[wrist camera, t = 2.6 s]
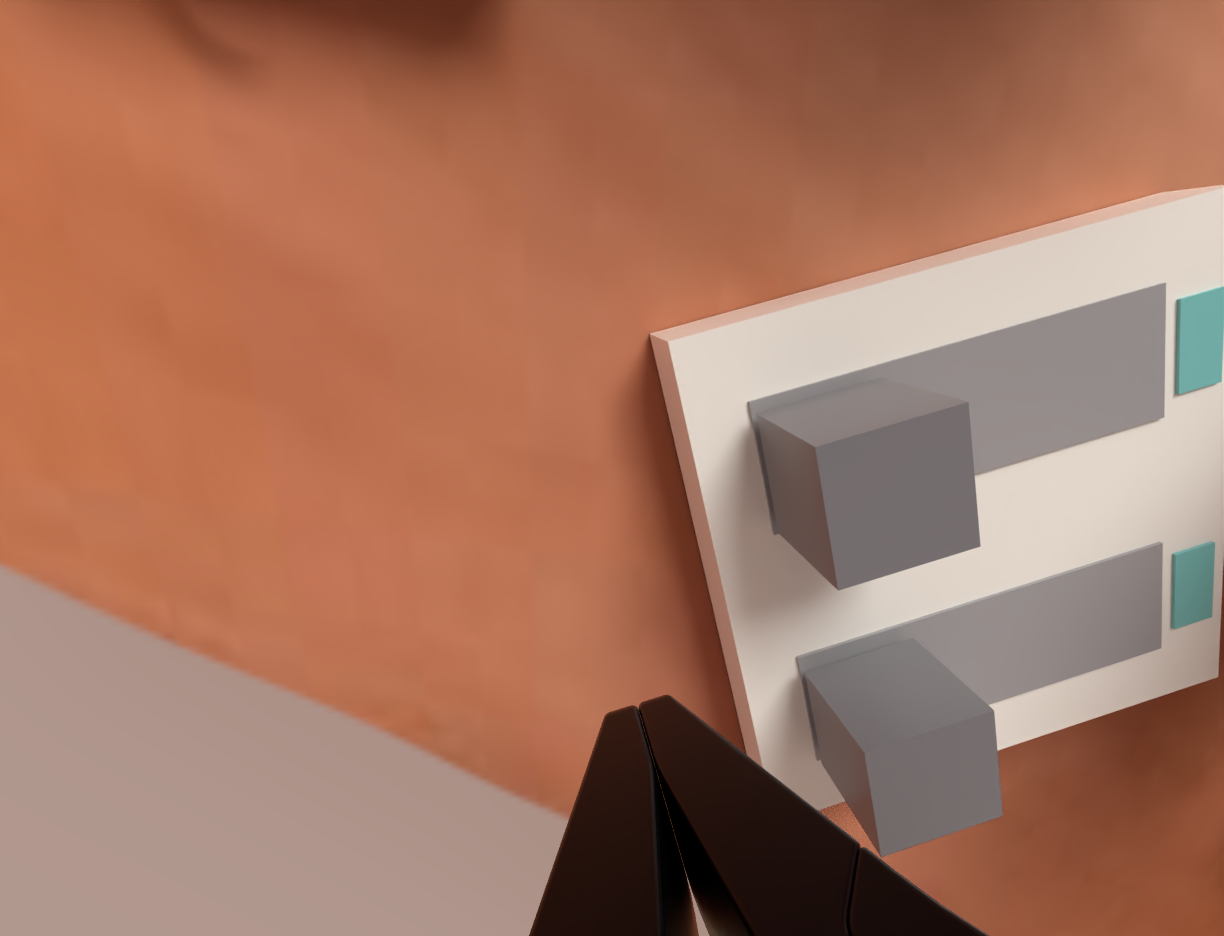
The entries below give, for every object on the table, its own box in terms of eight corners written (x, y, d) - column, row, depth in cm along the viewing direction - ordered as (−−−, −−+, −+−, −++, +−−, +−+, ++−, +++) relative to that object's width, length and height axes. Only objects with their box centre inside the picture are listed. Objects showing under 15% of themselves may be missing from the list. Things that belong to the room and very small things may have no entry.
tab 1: (881, 377, 15) (968, 401, 12) (896, 497, 16) (980, 546, 13) (756, 413, 15) (815, 446, 12) (778, 533, 16) (838, 590, 13)
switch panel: (1160, 192, 17) (1245, 182, 15) (1156, 641, 22) (1221, 678, 20) (649, 333, 16) (668, 341, 14) (751, 773, 21) (777, 827, 19)
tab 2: (913, 637, 17) (993, 710, 14) (925, 730, 18) (1003, 815, 15) (804, 672, 17) (864, 753, 14) (821, 764, 18) (881, 856, 15)
